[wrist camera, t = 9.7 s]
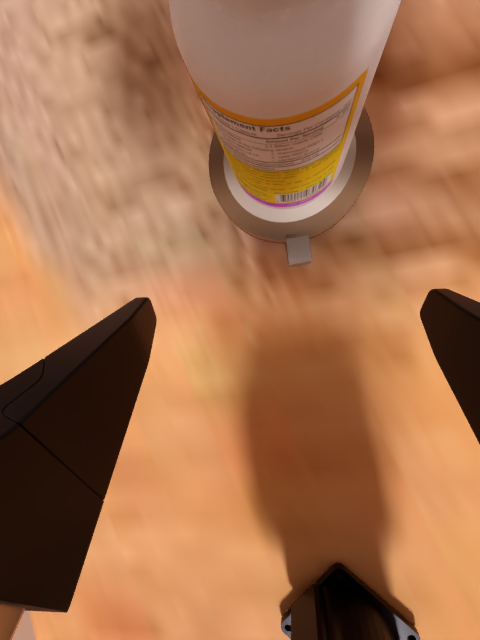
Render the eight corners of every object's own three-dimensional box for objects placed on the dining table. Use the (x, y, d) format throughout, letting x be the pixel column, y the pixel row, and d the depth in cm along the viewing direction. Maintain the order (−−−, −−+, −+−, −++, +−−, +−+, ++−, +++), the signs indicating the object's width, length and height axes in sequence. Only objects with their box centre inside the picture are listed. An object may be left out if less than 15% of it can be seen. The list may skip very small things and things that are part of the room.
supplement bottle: (267, 84, 17) (197, -599, 4) (366, 129, 16) (661, -569, 3) (214, 185, 18) (22, -125, 5) (305, 233, 17) (348, 4, 4)
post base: (380, 251, 17) (387, 246, 16) (227, 276, 19) (222, 273, 18) (355, 42, 17) (360, 20, 16) (201, 88, 19) (195, 72, 18)
